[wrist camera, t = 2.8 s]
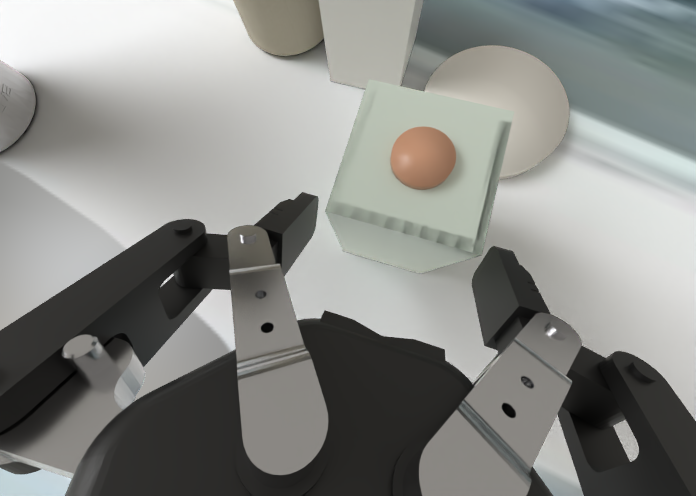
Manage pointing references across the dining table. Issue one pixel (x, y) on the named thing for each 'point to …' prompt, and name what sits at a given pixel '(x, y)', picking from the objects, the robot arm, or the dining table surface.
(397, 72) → the tall white lidded box
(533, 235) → the dining table surface
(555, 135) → the dish
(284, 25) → the travel mug
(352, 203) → the pale grey boxy piece
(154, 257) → the robot arm
